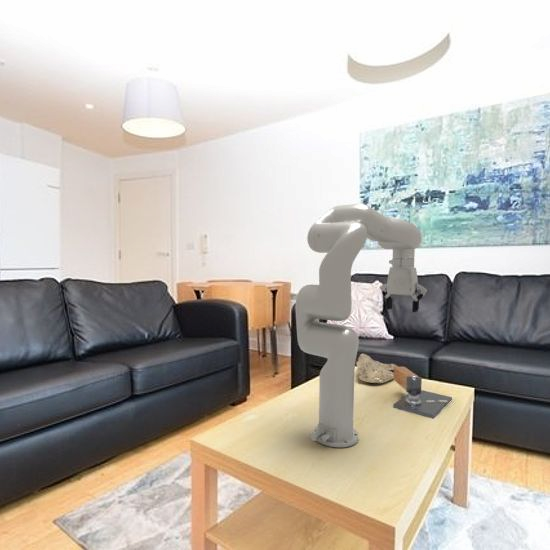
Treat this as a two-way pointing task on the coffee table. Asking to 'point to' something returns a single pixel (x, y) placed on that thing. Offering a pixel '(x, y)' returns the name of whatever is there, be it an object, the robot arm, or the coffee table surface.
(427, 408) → the post base
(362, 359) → the stone
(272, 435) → the coffee table surface
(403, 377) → the orange boxy piece
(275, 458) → the coffee table surface
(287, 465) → the coffee table surface
